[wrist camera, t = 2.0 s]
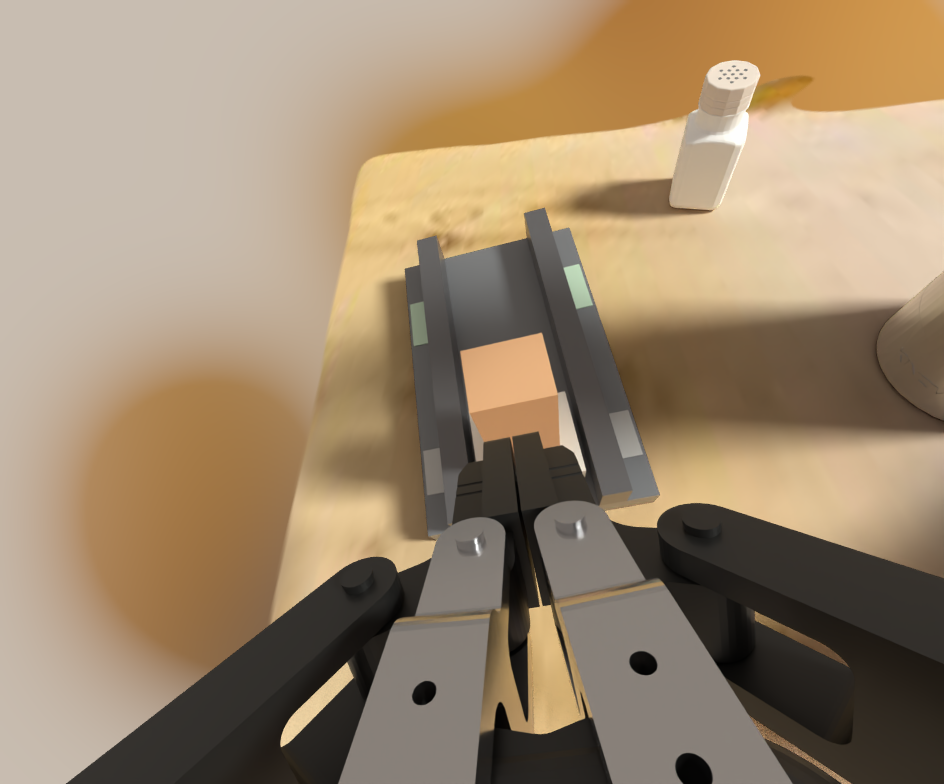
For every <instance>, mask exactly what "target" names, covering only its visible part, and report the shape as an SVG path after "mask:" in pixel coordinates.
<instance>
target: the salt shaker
mask: <svg viewBox="0 0 944 784" xmlns="http://www.w3.org/2000/svg"><path fill="white" fill-rule="evenodd" d="M759 77H760V73H759V70H758V68H757V67H756V66H755V65H752V64H751V63H749V62H745V61H737V60H733V61H727V62H721V63H719V64H718V65H716V66H714V67H712V68H711V69H710V70H709V72H708V73H707V75H706V77H705V80H704V84H703V88H702V92H701V96H700V99H699V109H697V110H695V111H693V112H691V113H690V114H689V115H688V119H687V123H686V127H685V131H684V135H683V139H682V143H681V147H680V151H679V155H678V159H677V163H676V167H675V171H674V175H673V180H672V185H671V191H670V196H669V202H670V206H672V207H674V208H686V209H702V210H714V209H717V208H718V207H719V205H720V204H721V203H722V200H723V198H724V195H725V193H726V190H727V187H728V185H729V182H730V180H731V177H732V175H733V172H734V169H735V167H736V164H737V162H738V159H739V157H740V154H741V151H742V149H743V146H744V144H745V141H746V135H747V128H748V113H746V112H745V111H746V109H747V108H748V107H749V104H750V101H751V99H752V96H753V93H754V91H755V87H756V85H757V82H758V80H759Z"/></svg>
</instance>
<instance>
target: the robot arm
mask: <svg viewBox="0 0 944 784" xmlns="http://www.w3.org/2000/svg"><path fill="white" fill-rule="evenodd" d="M877 357H878V360H879V363H880V367H881V369H882V371H883V372H884V374H885V376H886V377H887V379H888V381H889V382H890V383H891V384H892V385H893V387H894V388H895V389H896V390H897V391H898V392H899V393H900V394H901V395H902V396H903V397H905V398H906V399H907V400H908V401H910V402H911V403H912V404H913V405H915V406H916V407H918V408H919V409H921V410H923V411H925V412H926V413H928V414H930V415H932V416H933V417H936V418H938V419H941V420H943V421H944V272H942V273H941V274H940V275H939V276H938V277H936V278H935V279H934V280H933V281H932V282H931V283H930V284H928V285H927V286H926V287H925V288H924V289H923V290H922V291H920V292H919V293H918V294H917V295H916V296H915V297H914V298H913V299H911V300H910V301H909V302H908V303H907V304H906V305H905V306H903V307H902V308H901V309H900V310H899V311H898V312H897V313H896V314H894V315H893V316H892V317H891V318H890V319H889V320H888V321H887V322H886V323H885V325H884V326H883V328H882V329H881V330H880V333H879V336H878V339H877ZM512 440H513V447H512V443H511V439H510V437H507V438H502V439H497V440H492V441H487V442H484V443H483V460H482V461H477V462H472V463H467V465H466V466H465V467H464V468H463V470H462V471H461V472H460V473H459V475H458V483H457V490H456V498H455V505H454V513H453V520H452V526H450V527H449V528H447V529H446V530H445V531H444V532H443V533H442V534H441V535H440V536H439V538H438V539H437V542H436V545H435V548H434V552H433V555H432V558H430V559H429V560H427V561H425V562H423V563H421V564H419V565H416V566H414V567H411V568H409V569H406V570H404V571H401V572H399V573H398V572H397V569H396V567H395V564H394V563H393V562H392V561H391V560H389V559H387V558H384V557H370V558H365V559H361V560H358V561H356V562H354V563H352V564H350V565H348V566H346V567H344V568H343V569H341V570H340V571H339V572H337V573H336V574H335V575H334V576H332V577H331V578H330V579H328V580H327V581H326V582H325V583H323V584H322V585H321V586H319V587H318V588H317V589H316V590H314V591H313V592H312V593H310V594H309V595H308V596H307V597H305V598H304V599H303V600H301V601H300V602H299V603H298V604H296V605H295V606H294V607H292V608H291V609H290V610H289V611H287V612H286V613H285V614H283V615H282V616H281V617H280V618H278V619H277V620H276V621H274V622H273V623H272V624H271V625H269V626H268V627H267V628H265V629H264V630H263V631H262V632H260V633H259V634H258V635H256V636H255V637H254V638H253V639H251V640H250V641H249V642H247V643H246V644H245V645H244V646H242V647H241V648H240V649H239V650H237V651H236V652H235V653H233V654H232V655H231V656H230V657H228V658H227V659H226V660H224V661H223V662H222V663H221V664H219V665H218V666H217V667H215V668H214V669H213V670H212V671H210V672H209V673H208V674H207V675H205V676H204V677H203V678H201V679H200V680H199V681H198V682H196V683H195V684H194V685H192V686H191V687H190V688H188V689H187V690H186V691H185V692H183V693H182V694H181V695H179V696H178V697H177V698H176V699H174V700H173V701H172V702H170V703H169V704H168V705H167V706H165V707H164V708H163V709H161V710H160V711H159V712H158V713H156V714H155V715H154V716H153V717H151V718H150V719H149V720H148V721H146V722H145V723H143V724H142V725H141V726H140V727H138V728H137V729H136V730H135V731H134V732H132V733H131V734H129V735H128V736H127V737H126V738H124V739H123V740H122V741H120V742H119V743H118V744H117V745H115V746H114V747H113V748H111V749H110V750H109V751H107V752H106V753H105V754H104V755H102V756H101V757H100V758H99V759H97V760H96V761H95V762H93V763H92V764H91V765H90V766H88V767H87V768H86V769H84V770H83V771H82V772H81V773H79V774H78V775H77V776H75V777H74V778H73V779H72V780H70V781H69V782H68V783H66V784H841V783H840V782H838V781H837V780H836V779H834V778H833V777H831V776H830V775H828V774H827V773H826V772H824V771H823V770H821V769H820V768H818V767H817V766H815V765H814V764H812V763H810V762H808V761H807V760H805V759H803V758H802V757H800V756H798V755H796V754H795V753H793V752H791V751H790V750H788V749H785V748H783V747H781V746H779V745H777V744H775V743H773V742H771V741H769V740H767V739H764V738H763V737H762V735H761V734H760V732H759V730H758V729H757V727H756V726H755V724H754V723H753V721H752V720H751V718H750V716H751V717H752V718H754V719H755V720H757V721H758V722H760V723H761V724H763V725H764V726H766V727H767V728H769V729H770V730H772V731H773V732H775V733H776V734H778V735H779V736H781V737H782V738H784V739H785V740H787V741H788V742H790V743H791V744H793V745H795V746H796V747H798V748H799V749H801V750H802V751H804V752H805V753H807V754H808V755H810V756H811V757H813V758H814V759H816V760H817V761H819V762H820V763H822V764H823V765H825V766H826V767H828V768H829V769H831V770H832V771H834V772H835V773H837V774H838V775H840V776H841V777H843V778H844V779H846V780H847V781H849V782H850V783H852V784H944V579H943V578H940V577H937V576H934V575H931V574H928V573H925V572H922V571H919V570H916V569H912V568H909V567H906V566H903V565H900V564H897V563H894V562H891V561H888V560H885V559H881V558H878V557H875V556H872V555H869V554H866V553H863V552H860V551H857V550H854V549H850V548H847V547H844V546H841V545H838V544H835V543H832V542H829V541H826V540H823V539H819V538H816V537H813V536H810V535H807V534H804V533H801V532H798V531H795V530H791V529H788V528H785V527H782V526H779V525H776V524H773V523H770V522H767V521H764V520H760V519H757V518H754V517H751V516H748V515H745V514H742V513H739V512H736V511H733V510H729V509H726V508H723V507H720V506H716V505H711V504H702V503H691V504H683V505H679V506H676V507H673V508H671V509H669V510H667V511H665V512H664V513H663V514H662V515H661V516H660V518H659V519H658V522H657V528H646V527H631V526H626V525H622V524H619V523H616V522H613V521H611V520H610V519H609V517H608V515H607V514H606V512H605V511H604V510H603V509H602V508H600V507H599V506H597V505H596V503H595V501H594V499H593V496H592V494H591V491H590V489H589V487H588V484H587V482H586V480H585V477H584V475H583V473H582V470H581V468H580V465H579V463H578V461H577V458H576V456H575V454H574V452H572V451H571V450H569V449H568V448H566V447H564V446H563V445H560V446H555V447H550V448H544V449H543V445H542V442H541V438H540V435H539V431H537V432H532V433H527V434H522V435H517V436H512ZM513 448H514V452H513ZM534 569H535V570H534ZM535 573H536V577H535ZM536 578H537V582H538V587H539V591H540V595H541V600H542V604H543V606H546V605H551V608H552V612H553V617H554V621H555V626H556V631H557V635H558V640H559V644H560V647H561V651H562V655H563V658H564V662H565V666H566V670H567V673H568V677H569V681H570V684H571V688H572V692H573V695H574V699H575V703H576V707H577V710H578V714H579V718H580V721H577V722H575V723H573V724H570V725H568V726H565V727H563V728H561V729H558V730H556V731H554V732H551V733H548V734H534V703H533V662H532V640H531V636H530V632H529V629H530V616H529V608H534V607H540V605H539V598H538V591H537V584H536ZM754 611H756V612H758V613H760V614H762V615H764V616H766V617H769V618H771V619H773V620H775V621H777V622H779V623H781V624H783V625H785V626H787V627H789V628H791V629H793V630H796V631H798V632H800V633H802V634H804V635H806V636H808V637H810V638H812V639H814V640H816V641H818V642H820V643H822V644H824V645H826V646H827V647H829V648H830V649H832V650H833V651H834V652H836V653H837V654H838V655H839V656H840V657H841V658H842V659H843V660H844V661H845V662H846V663H847V664H848V666H849V667H850V668H849V667H847V666H845V665H843V664H841V663H839V662H837V661H835V660H833V659H831V658H829V657H827V656H825V655H823V654H821V653H819V652H817V651H815V650H813V649H811V648H809V647H807V646H805V645H803V644H801V643H799V642H797V641H795V640H793V639H791V638H789V637H787V636H785V635H783V634H781V633H779V632H777V631H775V630H773V629H771V628H769V627H767V626H765V625H763V624H761V623H759V622H757V621H755V613H754ZM346 662H348V665H349V667H350V670H351V672H352V674H353V677H354V678H353V679H352V680H351V681H350V682H349V683H348V684H347V685H346V686H345V687H344V688H343V689H342V690H341V691H340V692H339V693H338V694H337V695H336V696H335V697H334V698H333V699H332V700H331V701H330V702H329V703H328V704H327V705H326V706H325V707H324V708H323V709H322V710H321V711H320V712H319V713H318V714H317V715H316V716H315V717H314V718H313V720H312V721H311V722H310V723H309V724H308V725H307V726H306V727H305V728H304V729H303V730H302V731H301V732H300V733H299V734H298V735H297V736H296V737H295V738H294V739H293V740H292V741H290V742H289V743H288V744H286V745H285V746H283V747H281V746H280V741H281V735H282V732H283V729H284V727H285V725H286V724H287V722H288V720H289V719H290V718H291V716H292V715H293V714H294V713H295V712H296V711H297V710H298V709H299V708H300V707H301V706H302V705H303V704H304V703H305V702H306V701H307V700H308V699H309V698H310V697H311V696H312V695H313V694H314V693H315V692H316V691H317V690H318V689H319V688H321V687H322V686H323V685H324V684H325V683H326V682H327V681H328V680H329V679H330V678H331V677H332V676H333V675H334V674H335V673H336V672H337V671H338V670H339V669H340V668H341V667H342V666H343V665H344V664H345V663H346Z"/></svg>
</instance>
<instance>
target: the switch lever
mask: <svg viewBox="0 0 944 784" xmlns="http://www.w3.org/2000/svg"><path fill="white" fill-rule="evenodd" d="M460 353H461V360H462V367H463V373H464V380H465V387H466V394H467V400H468V407H469V417H470V424H471V431H472V437H473V444H474V451H475V458H476V462H477V461H482V460H483V443H484V442H487V441H492V440H497V439H502V438H507V437H510V439H511V443H512V447H513V440H512V436H517V435H522V434H527V433H532V432H537V431H539V435H540V438H541V442H542V445H543V449H544V448H550V447H555V446H560V445H563V446H564V447H566V448H568V449H569V450H571V451H572V452H574V454H575V456H576V458H577V461H578V463H579V465H580V468H581V470H582V473H583V475H584V477H585V475H586V468H585V464H584V461H583V457H582V453H581V449H580V446H579V442H578V438H577V434H576V431H575V427H574V423H573V420H572V416H571V412H570V408H569V405H568V401H567V397H566V393H565V391H564V392H559V393H557V389H556V385H555V381H554V378H553V374H552V370H551V366H550V362H549V358H548V354H547V350H546V347H545V343H544V339H543V335H542V333H538V334H534V335H529V336H525V337H521V338H516V339H512V340H507V341H503V342H498V343H494V344H490V345H485V346H481V347H476V348H472V349H467V350H463V351H460ZM513 452H514V448H513Z"/></svg>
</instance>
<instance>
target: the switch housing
mask: <svg viewBox="0 0 944 784" xmlns="http://www.w3.org/2000/svg"><path fill="white" fill-rule="evenodd" d="M524 217H525V226H526V235H527V238H526V239H522V240H518V241H514V242H510V243H506V244H502V245H498V246H494V247H490V248H486V249H482V250H478V251H474V252H470V253H466V254H462V255H458V256H454V257H450V258H446V259H444V256H443V253H442V250H441V247H440V244H439V242H438V239H437V236H433V237H429V238H426V239H422V240H418V241H417V246H418V255H419V264H420V265H418V266H414V267H410V268H406V269H405V277H406V289H407V300H408V312H409V323H410V334H411V346H412V357H413V369H414V380H415V392H416V403H417V415H418V426H419V437H420V449H421V460H422V472H423V483H424V495H425V506H426V518H427V529H428V536H429V537H431V538H433V539H435V540H437V539H438V538H439V536H440V535H441V534H442V533H443V532H444V531H445V530H446V529H447V528H449V527H450V526H452V520H453V513H454V505H455V498H456V490H457V483H458V475H459V473H460V472H461V471H462V470H463V468H464V467H465V466H466V465H467V463H472V462H476V458H475V451H474V444H473V437H472V431H471V424H470V417H469V407H468V400H467V394H466V387H465V380H464V373H463V367H462V360H461V353H460V351H463V350H467V349H472V348H476V347H481V346H485V345H490V344H494V343H498V342H503V341H507V340H512V339H516V338H521V337H525V336H529V335H534V334H538V333H542V335H543V339H544V343H545V347H546V350H547V354H548V358H549V362H550V366H551V370H552V374H553V378H554V381H555V385H556V389H557V393H559V392H564V391H565V393H566V397H567V401H568V405H569V408H570V412H571V416H572V420H573V423H574V427H575V431H576V434H577V438H578V442H579V446H580V449H581V453H582V457H583V461H584V464H585V468H586V475H585V480H586V482H587V484H588V487H589V489H590V491H591V494H592V496H593V499H594V501H595V503H596V505H597V506H599V507H600V508H602V509H603V510H604V511H606V510H611V509H617V508H623V507H628V506H634V505H640V504H645V503H651V502H654V501H655V500H656V499H657V498H658V497H659V495H660V494H659V491H658V488H657V485H656V482H655V479H654V476H653V473H652V470H651V467H650V464H649V461H648V458H647V455H646V452H645V449H644V446H643V443H642V441H641V438H640V435H639V432H638V429H637V426H636V423H635V420H634V417H633V414H632V411H631V408H630V405H629V402H628V399H627V396H626V393H625V390H624V387H623V384H622V382H621V379H620V376H619V373H618V370H617V367H616V364H615V361H614V358H613V355H612V352H611V349H610V346H609V343H608V340H607V337H606V334H605V331H604V328H603V326H602V323H601V320H600V317H599V314H598V311H597V308H596V305H595V302H594V299H593V296H592V293H591V290H590V287H589V284H588V281H587V278H586V275H585V272H584V270H583V267H582V264H581V261H580V258H579V255H578V252H577V249H576V246H575V243H574V240H573V237H572V234H571V231H570V228H566V229H562V230H558V231H554V232H552V230H551V226H550V223H549V220H548V217H547V214H546V210H545V208H542V209H538V210H534V211H530V212H527V213H524Z"/></svg>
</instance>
